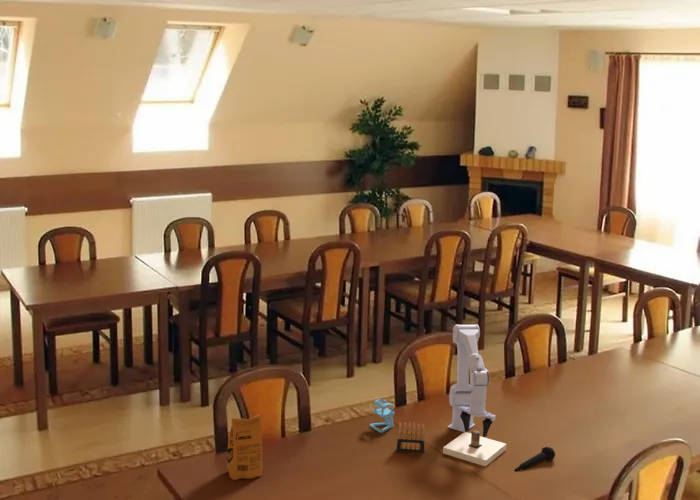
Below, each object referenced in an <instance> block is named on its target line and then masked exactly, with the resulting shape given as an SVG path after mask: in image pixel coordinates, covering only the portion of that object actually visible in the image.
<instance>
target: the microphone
mask: <svg viewBox="0 0 700 500" xmlns="http://www.w3.org/2000/svg"><path fill="white" fill-rule="evenodd" d="M555 456H556V452H555V450H554V448H552V447H550V446H545V447H543V448H541V452H539V453H538V454H535V455H534V456H532V457H530V458H529V459H527V460H525V461H523V462H522V463H520V465H519V466H517V467H516V468H515V469H514V472H517V471H521V470H526V469H529V468H530V467H533V466H536V465H538V464H540V463H543V462H545V461H546V462H549V461H550V462H552V461H554V459H555Z"/></svg>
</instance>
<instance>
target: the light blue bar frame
mask: <svg viewBox="0 0 700 500" xmlns="http://www.w3.org/2000/svg"><path fill="white" fill-rule="evenodd" d="M373 404H374V409H372V413H374V414H375V415H378V416H379V417H380V418H384V420H385V422H375V423H369V427H370V428H372V429H373V430H375V431H377V432H378V433H380V434H383V433H384V432H386V431H387V430H389V429H391V428H393V427H394V415H395V412H396V411H394V410H393V409H394V407H395V404H394V403H390V402H387V399H384V398H383V399H382V398H378V399H376V400H374V402H373ZM378 407H379V408H378ZM388 407H391V408H388ZM379 426H386V427H384V428H382V429H380V428H378V427H379Z"/></svg>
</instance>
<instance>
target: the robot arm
mask: <svg viewBox="0 0 700 500" xmlns="http://www.w3.org/2000/svg"><path fill="white" fill-rule="evenodd" d="M480 335H481V329H480V326H479V324H477V323H476V324H457V323H456V324H454V325H453V328H452V343H454V344H456V347H457V353H456V355H457V356H456V359H457V361H456V363H457V364H456V366H457V367H456V372H457V373H456V383H455V384H453V385H452V386H451V387H450V389H449V394H448V395H449V396H448V397H449V399H448V400H449V405H450V406H451V407H452V413H451V414H452V416H451V417H452V419H451V423H450V424H449V425H448V426H447V428H449V429H451V430H455V431H458V432H462V433H464V432H469V431H470V429H472V428H473V427H474V426H475V425H476V424H475V423H474V418H475V417H479V418H482V419H484V420H482V428H483V429H482V437H485V438H487V436H488V432H489V429H490V428H491V426H492V424H493V422H495V421H496V415H495V414H493V413H491V412H489V411H486V404H487V403H486V402H487V401H486V400H487V386H489V384H490V373H489V370H488V369H487V368H486V367H485V363H484V360H483V356H482V355H481V354H479V348H478V342H479V338H480ZM469 372H470V373H469Z"/></svg>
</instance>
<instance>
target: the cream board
mask: <svg viewBox="0 0 700 500" xmlns="http://www.w3.org/2000/svg"><path fill="white" fill-rule="evenodd" d="M471 435H472V432H469V431H467V432H462V433H461V434H460V435H459V436H457V437H456V438H455V439H453V440H451V441H450V442H448V443H447V444H446V445H444V446H443V448H442V453H443V454H444V455H446V456H447V455H448V456H451V457H453V458H457V459H460V460H463V461H466V462H469V463H473V464H476V465H478V466H482V467H487V466H488V465H490V464H491V463H492V462H493V461H494V460H495V459H497V458H498V457H499V456H501V455H502V454H503V453H504V452H505V451H506V450H507V443H505V442H501V441H499V440H495V439H491V438H488V437H483V436H481V435H480V441H479V447H478V449H476V448H473V447H472V446H471Z"/></svg>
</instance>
